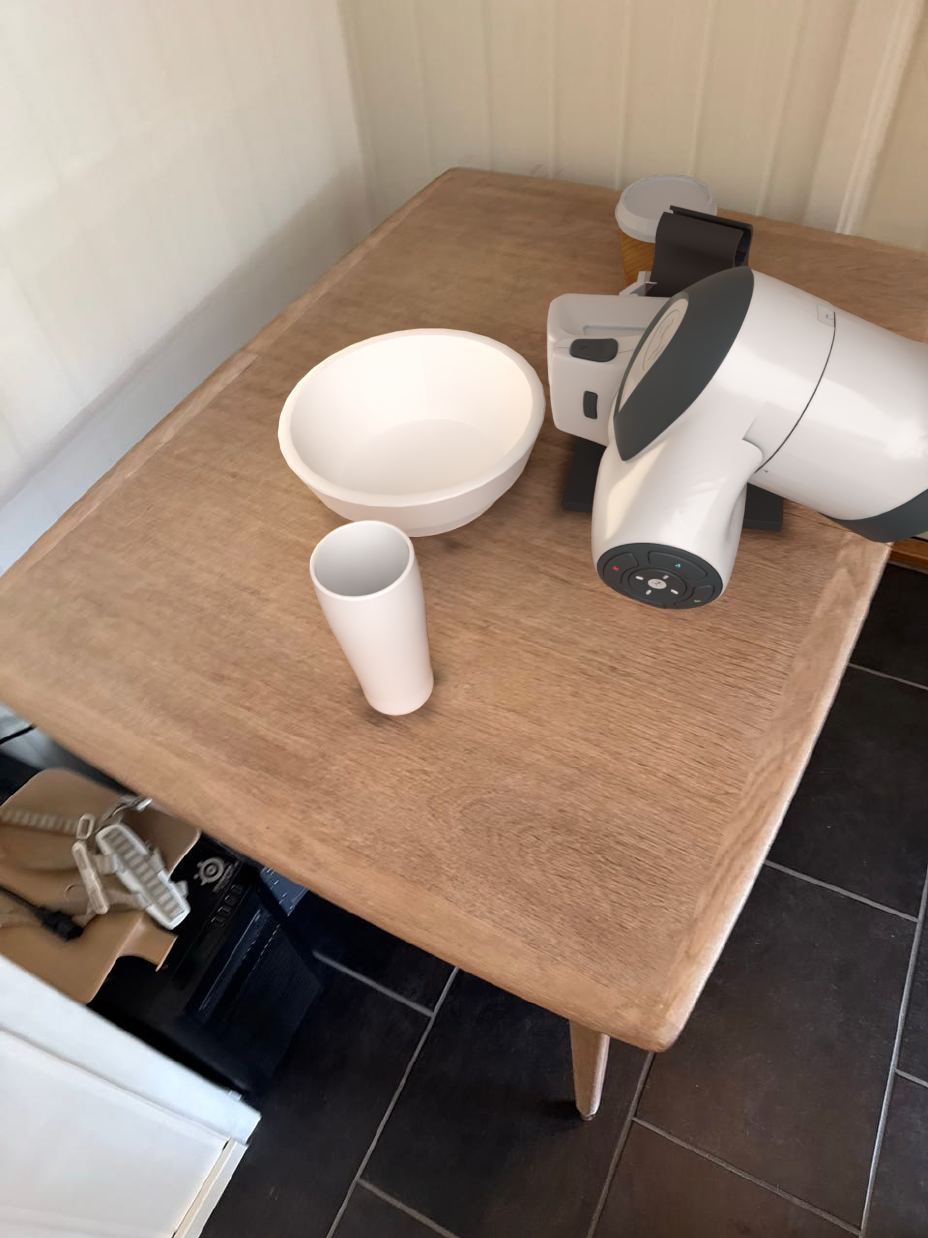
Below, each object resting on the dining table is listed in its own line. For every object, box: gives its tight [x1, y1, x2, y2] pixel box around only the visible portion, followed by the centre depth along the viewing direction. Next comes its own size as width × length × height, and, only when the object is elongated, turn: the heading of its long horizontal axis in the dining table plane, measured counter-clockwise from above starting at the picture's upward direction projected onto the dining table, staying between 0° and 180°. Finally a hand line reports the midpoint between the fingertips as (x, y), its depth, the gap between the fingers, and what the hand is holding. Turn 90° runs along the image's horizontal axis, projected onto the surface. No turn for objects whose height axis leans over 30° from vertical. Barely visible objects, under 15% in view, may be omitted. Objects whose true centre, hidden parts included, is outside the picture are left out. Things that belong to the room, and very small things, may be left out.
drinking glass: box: [308, 520, 435, 716], centre depth 60 cm, size 7×7×15 cm
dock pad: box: [561, 436, 785, 532], centre depth 78 cm, size 18×20×3 cm
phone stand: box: [646, 205, 754, 298], centre depth 65 cm, size 9×6×12 cm, turn 143°
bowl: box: [277, 327, 547, 538], centre depth 76 cm, size 22×22×8 cm
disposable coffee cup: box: [614, 173, 718, 289], centre depth 87 cm, size 10×10×12 cm
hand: (697, 281), depth 65 cm, fingers closed on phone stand, 6 cm apart
